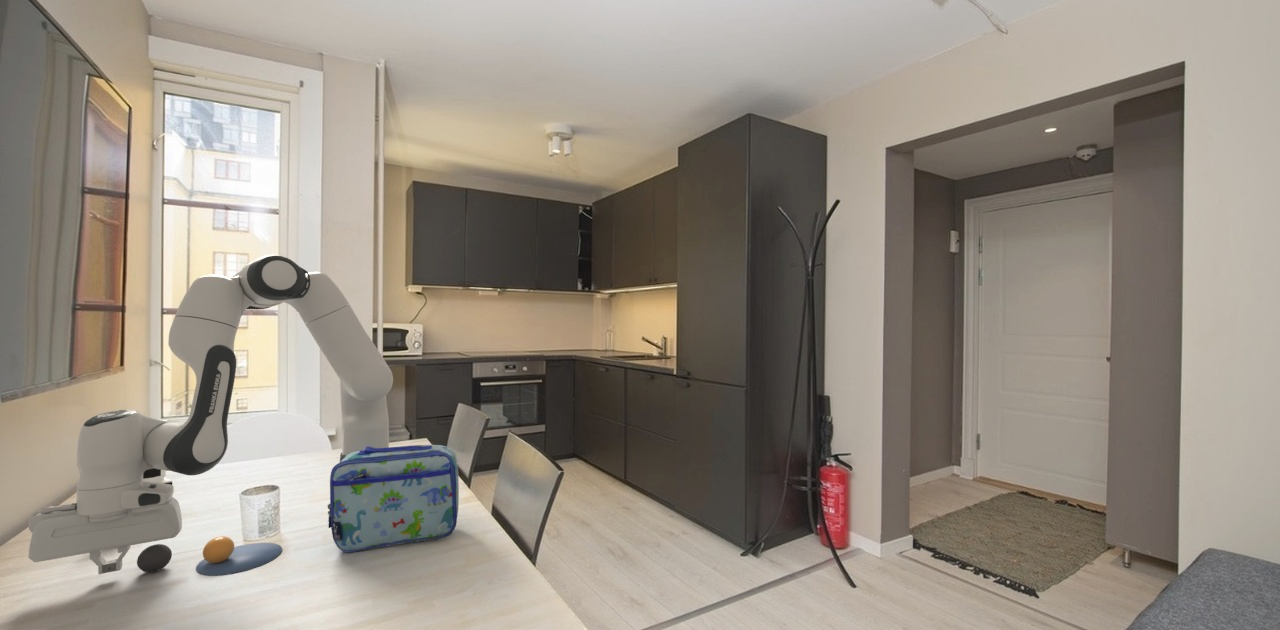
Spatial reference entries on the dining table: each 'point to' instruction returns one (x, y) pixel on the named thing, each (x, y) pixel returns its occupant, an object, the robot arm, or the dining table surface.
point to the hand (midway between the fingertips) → (110, 571)
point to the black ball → (154, 558)
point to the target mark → (242, 559)
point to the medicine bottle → (156, 476)
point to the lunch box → (393, 496)
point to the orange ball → (218, 549)
